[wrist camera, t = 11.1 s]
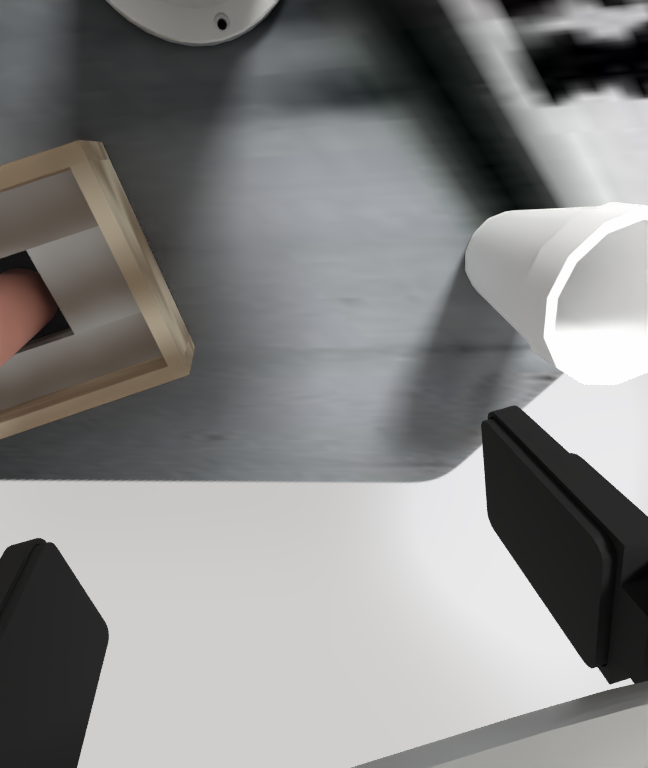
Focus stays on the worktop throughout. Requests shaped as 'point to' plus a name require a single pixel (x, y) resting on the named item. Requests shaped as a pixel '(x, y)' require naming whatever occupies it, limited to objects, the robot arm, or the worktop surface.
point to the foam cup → (570, 285)
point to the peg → (22, 309)
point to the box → (85, 290)
